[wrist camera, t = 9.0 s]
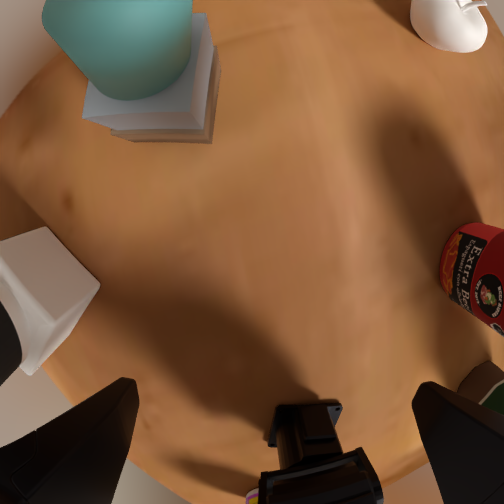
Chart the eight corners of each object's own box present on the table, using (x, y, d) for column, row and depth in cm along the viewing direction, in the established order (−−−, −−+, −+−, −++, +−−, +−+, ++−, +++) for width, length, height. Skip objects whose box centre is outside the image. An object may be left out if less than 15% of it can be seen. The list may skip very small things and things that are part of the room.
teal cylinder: (213, 43, 9) (228, -35, 4) (142, 119, 9) (106, 63, 5) (139, 6, 8) (124, -66, 3) (71, 74, 8) (18, 20, 3)
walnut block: (211, 144, 18) (204, 134, 14) (134, 142, 17) (110, 134, 13) (221, 70, 16) (216, 45, 12) (145, 71, 16) (126, 50, 12)
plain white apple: (458, 75, 16) (516, 56, 8) (395, 39, 16) (448, -1, 8) (453, 24, 15) (501, -2, 7) (395, -10, 14) (435, -51, 6)
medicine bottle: (46, 223, 18) (-66, 264, 7) (103, 283, 20) (7, 370, 8) (20, 281, 19) (-67, 337, 8) (70, 334, 21) (-4, 418, 9)
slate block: (203, 129, 14) (189, 111, 10) (117, 130, 13) (81, 118, 10) (213, 48, 13) (206, 13, 9) (130, 53, 12) (103, 24, 8)
